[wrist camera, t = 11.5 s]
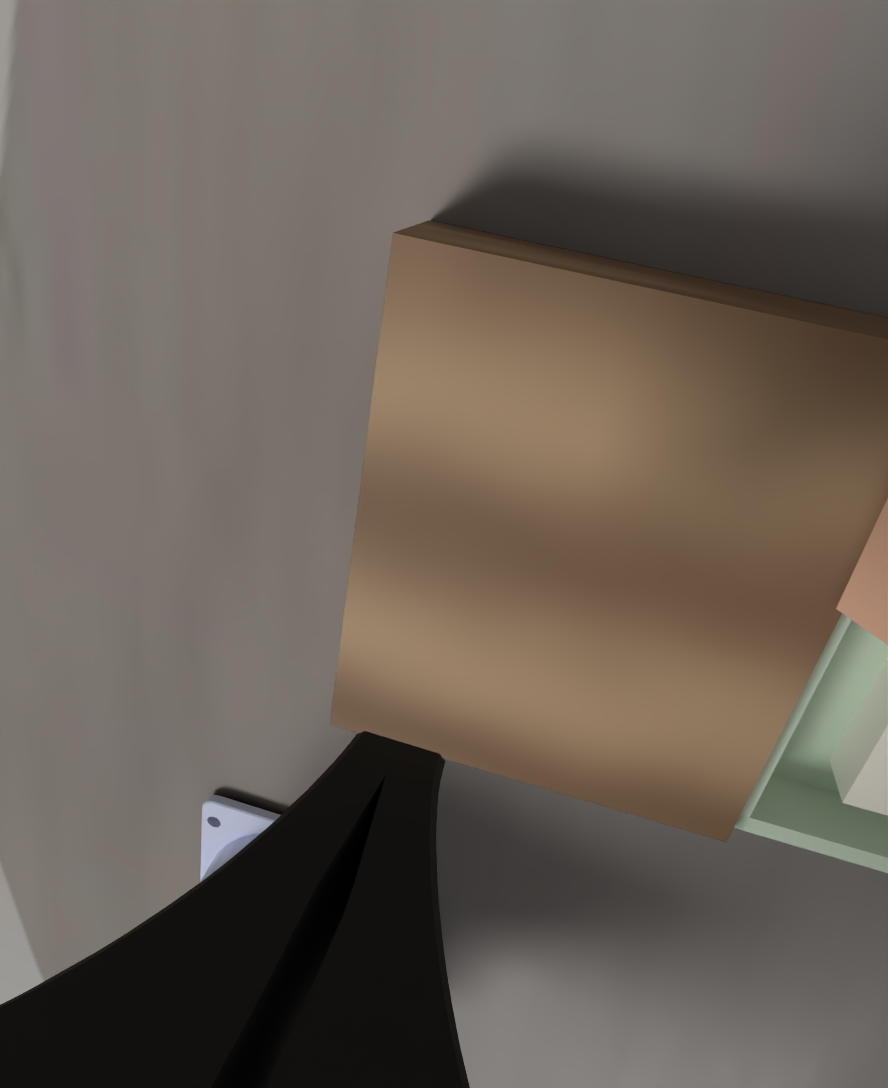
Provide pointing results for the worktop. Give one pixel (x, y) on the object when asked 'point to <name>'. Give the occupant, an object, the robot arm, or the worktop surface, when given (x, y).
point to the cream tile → (866, 751)
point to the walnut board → (604, 519)
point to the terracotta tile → (870, 583)
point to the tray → (822, 760)
